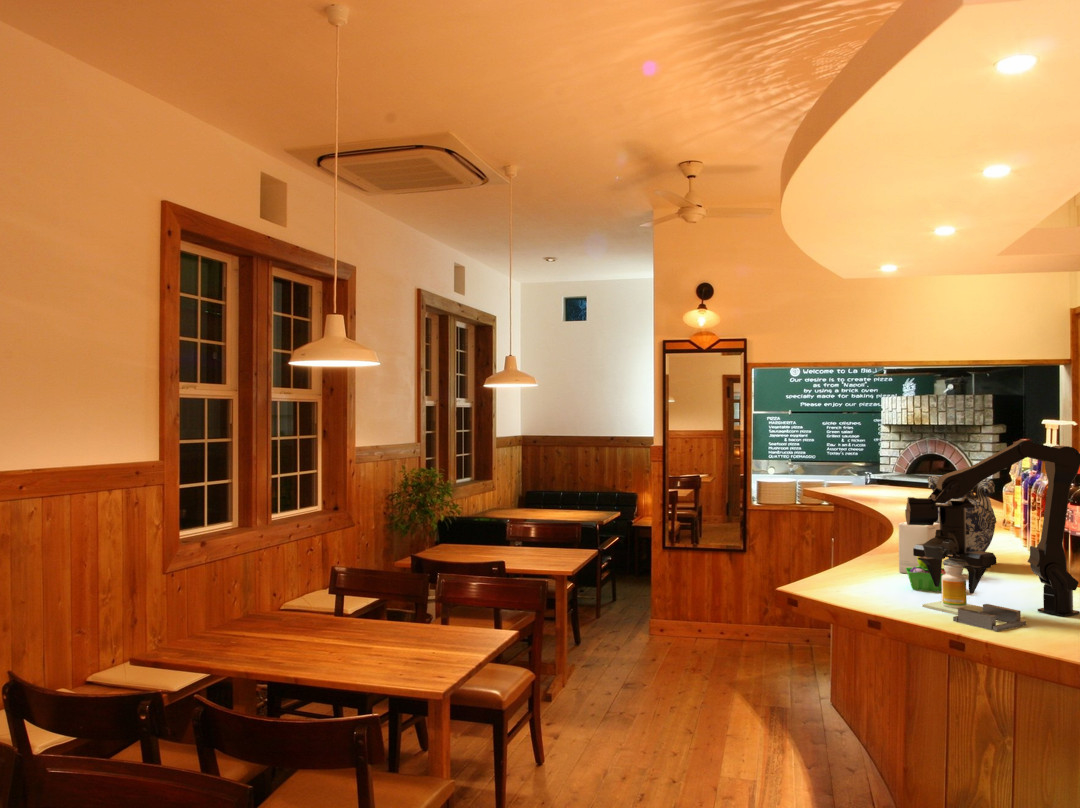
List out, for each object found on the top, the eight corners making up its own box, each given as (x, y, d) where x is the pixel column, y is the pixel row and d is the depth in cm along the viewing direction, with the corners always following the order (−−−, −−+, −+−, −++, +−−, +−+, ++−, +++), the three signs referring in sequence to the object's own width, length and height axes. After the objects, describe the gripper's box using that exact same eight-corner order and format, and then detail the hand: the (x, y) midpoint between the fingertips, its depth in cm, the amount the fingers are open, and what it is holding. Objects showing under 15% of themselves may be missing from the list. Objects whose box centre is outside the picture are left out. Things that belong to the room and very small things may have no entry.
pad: (949, 602, 206) (948, 599, 206) (986, 610, 197) (986, 607, 197) (922, 606, 201) (922, 604, 201) (959, 615, 192) (959, 612, 192)
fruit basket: (908, 590, 220) (907, 548, 220) (905, 584, 228) (904, 543, 228) (955, 593, 216) (954, 550, 216) (950, 586, 224) (950, 545, 224)
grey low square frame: (982, 615, 192) (981, 602, 192) (1026, 625, 182) (1026, 611, 182) (953, 621, 187) (952, 607, 187) (997, 631, 178) (996, 617, 178)
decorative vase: (1012, 566, 252) (1009, 475, 253) (981, 574, 242) (978, 479, 242) (945, 557, 270) (942, 472, 270) (913, 564, 259) (910, 476, 260)
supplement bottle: (969, 609, 196) (968, 568, 196) (945, 608, 197) (944, 567, 197) (962, 603, 201) (962, 564, 201) (939, 603, 202) (938, 563, 202)
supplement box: (928, 577, 238) (927, 525, 238) (898, 573, 244) (897, 522, 244) (942, 573, 244) (941, 522, 244) (911, 569, 250) (911, 520, 250)
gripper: (897, 524, 204) (898, 586, 204) (966, 532, 187) (968, 601, 187) (927, 520, 209) (928, 582, 209) (997, 529, 192) (998, 595, 192)
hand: (953, 590), depth 199 cm, fingers open, 9 cm apart
